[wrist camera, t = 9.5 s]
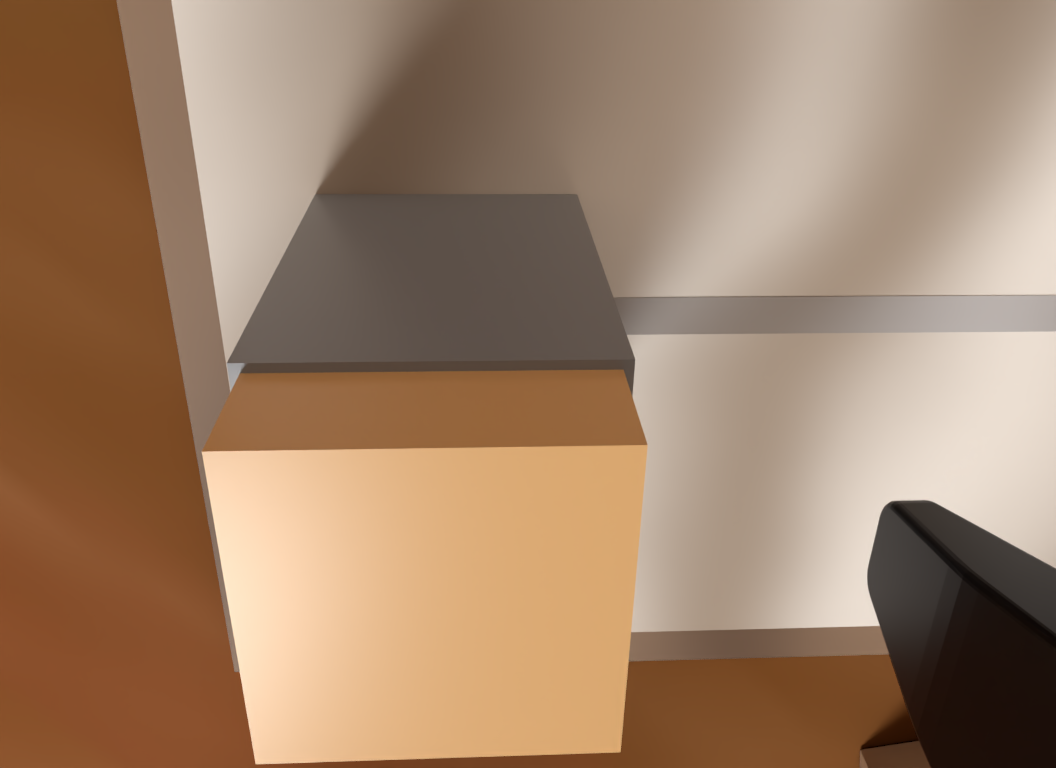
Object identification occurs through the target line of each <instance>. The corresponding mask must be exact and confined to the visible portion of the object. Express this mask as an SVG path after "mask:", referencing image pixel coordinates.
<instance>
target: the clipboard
mask: <svg viewBox="0 0 1056 768" xmlns="http://www.w3.org/2000/svg"><path fill="white" fill-rule="evenodd" d="M117 6H118V12H119V17H120V23H121V29H122V34H123V40H124V46H125V52H126V57H127V63H128V69H129V74H130V80H131V86H132V91H133V97H134V103H135V108H136V114H137V120H138V125H139V131H140V137H141V142H142V148H143V154H144V159H145V165H146V171H147V176H148V182H149V188H150V193H151V199H152V205H153V211H154V216H155V222H156V228H157V233H158V239H159V245H160V250H161V256H162V262H163V267H164V273H165V279H166V284H167V290H168V296H169V301H170V307H171V313H172V318H173V324H174V330H175V335H176V341H177V347H178V352H179V358H180V364H181V369H182V375H183V381H184V387H185V392H186V398H187V404H188V409H189V415H190V421H191V426H192V432H193V438H194V443H195V449H196V455H197V460H198V466H199V472H200V477H201V483H202V489H203V494H204V500H205V506H206V511H207V517H208V523H209V528H210V534H211V540H212V546H213V551H214V557H215V563H216V568H217V574H218V580H219V585H220V591H221V597H222V602H223V608H224V614H225V619H226V625H227V631H228V636H229V642H230V648H231V653H232V659H233V665H234V670H235V672H240V670H239V664H238V658H237V653H236V647H235V641H234V635H233V629H232V624H231V618H230V612H229V606H228V601H227V595H226V589H225V583H224V577H223V572H222V566H221V560H220V554H219V548H218V543H217V537H216V531H215V525H214V520H213V514H212V508H211V502H210V496H209V491H208V485H207V479H206V473H205V468H204V462H203V456H202V450H203V448H204V446H205V444H206V442H207V440H208V438H209V436H210V434H211V431H212V429H213V427H214V425H215V423H216V421H217V419H218V417H219V415H220V413H221V411H222V409H223V407H224V405H225V403H226V401H227V398H228V396H229V394H230V392H231V389H230V382H229V376H228V369H227V362H228V360H229V358H230V356H231V354H232V352H233V350H234V348H235V346H236V344H237V343H238V341H239V339H240V337H241V335H242V333H243V331H244V329H245V327H246V325H247V323H248V322H249V320H250V318H251V316H252V314H253V312H254V310H255V308H256V306H257V304H258V302H259V301H260V299H261V297H262V295H263V293H264V291H265V289H266V287H267V285H268V283H269V281H270V280H271V278H272V276H273V274H274V272H275V270H276V268H277V266H278V264H279V262H280V260H281V259H282V257H283V255H284V253H285V251H286V249H287V247H288V245H289V243H290V241H291V239H292V238H293V236H294V234H295V232H296V230H297V228H298V226H299V224H300V222H301V220H302V218H303V217H304V215H305V213H306V211H307V209H308V207H309V205H310V203H311V201H312V199H313V198H314V196H315V194H577V195H578V198H579V201H580V204H581V207H582V210H583V212H584V215H585V218H586V221H587V224H588V227H589V229H590V232H591V235H592V238H593V241H594V244H595V246H596V249H597V252H598V255H599V258H600V261H601V263H602V266H603V269H604V272H605V275H606V278H607V280H608V283H609V286H610V289H611V292H612V295H613V297H614V300H615V303H616V306H617V309H618V312H619V315H620V317H621V320H622V323H623V326H624V329H625V332H626V334H627V337H628V340H629V343H630V346H631V349H632V351H633V354H634V357H635V370H634V383H633V396H632V397H633V401H634V404H635V407H636V410H637V413H638V416H639V419H640V422H641V426H642V429H643V432H644V435H645V438H646V441H647V444H648V448H647V459H646V470H645V482H644V493H643V504H642V515H641V527H640V538H639V549H638V560H637V572H636V583H635V594H634V605H633V617H632V628H631V639H630V650H629V661H658V660H695V659H732V658H769V657H806V656H843V655H879V654H889V653H888V649H887V646H886V643H885V640H884V637H883V634H882V631H881V628H880V625H879V622H878V619H877V616H876V613H875V610H874V607H873V604H872V601H871V598H870V594H869V590H868V585H867V570H868V564H869V560H870V556H871V552H872V547H873V543H874V539H875V535H876V530H877V526H878V522H879V517H880V514H881V512H882V509H883V508H884V506H885V505H886V504H888V503H889V502H891V501H901V500H929V501H932V502H935V503H937V504H938V505H940V506H942V507H944V508H946V509H948V510H949V511H951V512H953V513H955V514H957V515H959V516H961V517H962V518H964V519H966V520H968V521H970V522H972V523H973V524H975V525H977V526H979V527H981V528H983V529H984V530H986V531H988V532H990V533H992V534H994V535H995V536H997V537H999V538H1001V539H1003V540H1005V541H1006V542H1008V543H1010V544H1012V545H1014V546H1016V547H1017V548H1019V549H1021V550H1023V551H1025V552H1027V553H1029V554H1030V555H1032V556H1034V557H1036V558H1038V559H1040V560H1041V561H1043V562H1045V563H1047V564H1049V565H1051V566H1052V567H1054V568H1056V0H117Z"/></svg>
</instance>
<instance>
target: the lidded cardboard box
mask: <svg viewBox="0 0 1056 768" xmlns="http://www.w3.org/2000/svg"><path fill="white" fill-rule="evenodd" d="M227 369H228V376H229V382H230V389H231V392H230V394H229V396H228V398H227V401H226V403H225V405H224V407H223V409H222V411H221V413H220V415H219V417H218V419H217V421H216V423H215V425H214V427H213V429H212V431H211V434H210V436H209V438H208V440H207V442H206V444H205V446H204V448H203V450H202V456H203V462H204V468H205V473H206V479H207V485H208V491H209V496H210V502H211V508H212V514H213V520H214V525H215V531H216V537H217V543H218V548H219V554H220V560H221V566H222V572H223V577H224V583H225V589H226V595H227V601H228V606H229V612H230V618H231V624H232V629H233V635H234V641H235V647H236V653H237V658H238V664H239V670H240V676H241V681H242V687H243V693H244V699H245V705H246V710H247V716H248V722H249V728H250V733H251V739H252V745H253V751H254V757H255V762H256V764H278V763H309V762H339V761H370V760H400V759H431V758H461V757H492V756H523V755H553V754H584V753H614V752H621V741H622V729H623V718H624V707H625V695H626V684H627V673H628V662H629V650H630V639H631V628H632V617H633V605H634V594H635V583H636V572H637V560H638V549H639V538H640V527H641V515H642V504H643V493H644V482H645V470H646V459H647V448H648V444H647V441H646V438H645V435H644V432H643V429H642V426H641V422H640V419H639V416H638V413H637V410H636V407H635V404H634V401H633V397H632V396H633V383H634V370H635V357H634V354H633V351H632V349H631V346H630V343H629V340H628V337H627V334H626V332H625V329H624V326H623V323H622V320H621V317H620V315H619V312H618V309H617V306H616V303H615V300H614V297H613V295H612V292H611V289H610V286H609V283H608V280H607V278H606V275H605V272H604V269H603V266H602V263H601V261H600V258H599V255H598V252H597V249H596V246H595V244H594V241H593V238H592V235H591V232H590V229H589V227H588V224H587V221H586V218H585V215H584V212H583V210H582V207H581V204H580V201H579V198H578V195H577V194H315V196H314V198H313V199H312V201H311V203H310V205H309V207H308V209H307V211H306V213H305V215H304V217H303V218H302V220H301V222H300V224H299V226H298V228H297V230H296V232H295V234H294V236H293V238H292V239H291V241H290V243H289V245H288V247H287V249H286V251H285V253H284V255H283V257H282V259H281V260H280V262H279V264H278V266H277V268H276V270H275V272H274V274H273V276H272V278H271V280H270V281H269V283H268V285H267V287H266V289H265V291H264V293H263V295H262V297H261V299H260V301H259V302H258V304H257V306H256V308H255V310H254V312H253V314H252V316H251V318H250V320H249V322H248V323H247V325H246V327H245V329H244V331H243V333H242V335H241V337H240V339H239V341H238V343H237V344H236V346H235V348H234V350H233V352H232V354H231V356H230V358H229V360H228V362H227Z"/></svg>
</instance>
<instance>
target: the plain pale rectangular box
mask: <svg viewBox="0 0 1056 768" xmlns="http://www.w3.org/2000/svg"><path fill="white" fill-rule="evenodd" d="M860 768H931V767H930V765H929V763H928V761H927V758H926V756H925V754H924V751H923V749H922V747H921V744H920V742H919V741H914V742H908V743H901V744H895V745H888V746H882V747H875V748H869V749H862V750H860Z"/></svg>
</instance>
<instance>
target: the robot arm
mask: <svg viewBox="0 0 1056 768" xmlns="http://www.w3.org/2000/svg"><path fill="white" fill-rule="evenodd" d="M867 585H868V590H869V594H870V598H871V601H872V604H873V607H874V610H875V613H876V616H877V619H878V622H879V625H880V628H881V631H882V634H883V637H884V640H885V643H886V646H887V649H888V653H889V656H890V659H891V662H892V665H893V668H894V671H895V674H896V677H897V680H898V683H899V686H900V689H901V692H902V695H903V698H904V701H905V704H906V707H907V710H908V713H909V716H910V719H911V721H912V724H913V727H914V730H915V732H916V735H917V737H918V740H919V742H920V744H921V747H922V749H923V751H924V754H925V756H926V758H927V761H928V763H929V765H930V767H931V768H1056V568H1054V567H1052V566H1051V565H1049V564H1047V563H1045V562H1043V561H1041V560H1040V559H1038V558H1036V557H1034V556H1032V555H1030V554H1029V553H1027V552H1025V551H1023V550H1021V549H1019V548H1017V547H1016V546H1014V545H1012V544H1010V543H1008V542H1006V541H1005V540H1003V539H1001V538H999V537H997V536H995V535H994V534H992V533H990V532H988V531H986V530H984V529H983V528H981V527H979V526H977V525H975V524H973V523H972V522H970V521H968V520H966V519H964V518H962V517H961V516H959V515H957V514H955V513H953V512H951V511H949V510H948V509H946V508H944V507H942V506H940V505H938V504H937V503H935V502H932V501H929V500H901V501H891V502H889V503H888V504H886V505H885V506H884V508H883V509H882V512H881V514H880V517H879V522H878V526H877V530H876V535H875V539H874V543H873V547H872V552H871V556H870V560H869V564H868V570H867Z"/></svg>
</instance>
